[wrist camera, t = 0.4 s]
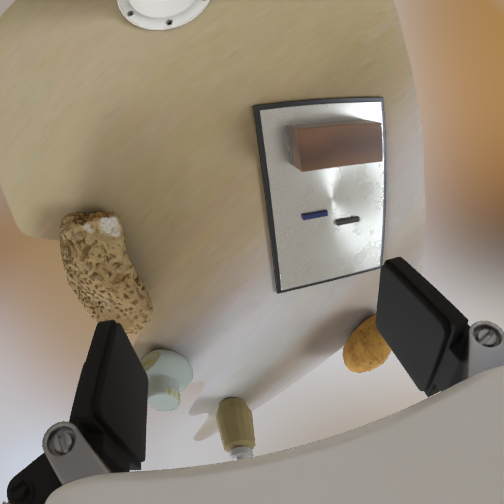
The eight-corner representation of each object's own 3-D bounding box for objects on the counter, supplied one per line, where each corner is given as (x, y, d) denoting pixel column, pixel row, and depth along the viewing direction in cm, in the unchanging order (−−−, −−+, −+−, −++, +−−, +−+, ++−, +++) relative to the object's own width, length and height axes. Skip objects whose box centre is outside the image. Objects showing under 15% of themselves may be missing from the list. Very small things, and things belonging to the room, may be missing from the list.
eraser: (286, 125, 40) (297, 129, 35) (363, 118, 41) (381, 122, 37) (290, 164, 42) (302, 172, 38) (365, 154, 44) (383, 161, 39)
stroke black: (335, 220, 48) (337, 221, 47) (358, 215, 48) (359, 217, 48) (336, 224, 48) (337, 226, 48) (358, 220, 49) (359, 221, 48)
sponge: (63, 210, 41) (80, 329, 46) (51, 218, 34) (75, 353, 39) (145, 204, 46) (154, 322, 51) (147, 210, 39) (159, 346, 44)
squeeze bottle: (253, 407, 68) (270, 472, 52) (222, 416, 68) (233, 481, 52) (242, 389, 64) (258, 460, 48) (208, 400, 64) (217, 470, 48)
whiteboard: (252, 105, 39) (253, 106, 38) (381, 97, 40) (384, 97, 40) (276, 292, 53) (277, 294, 52) (380, 266, 55) (382, 268, 54)
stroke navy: (301, 214, 46) (302, 215, 46) (326, 209, 47) (327, 211, 46) (302, 219, 47) (303, 220, 46) (326, 214, 47) (328, 215, 47)
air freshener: (160, 383, 59) (159, 422, 50) (130, 362, 55) (125, 403, 46) (199, 359, 57) (203, 401, 49) (168, 336, 53) (167, 378, 45)
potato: (415, 345, 54) (398, 332, 50) (366, 386, 58) (343, 378, 53) (393, 314, 62) (374, 298, 57) (349, 353, 66) (325, 342, 61)
